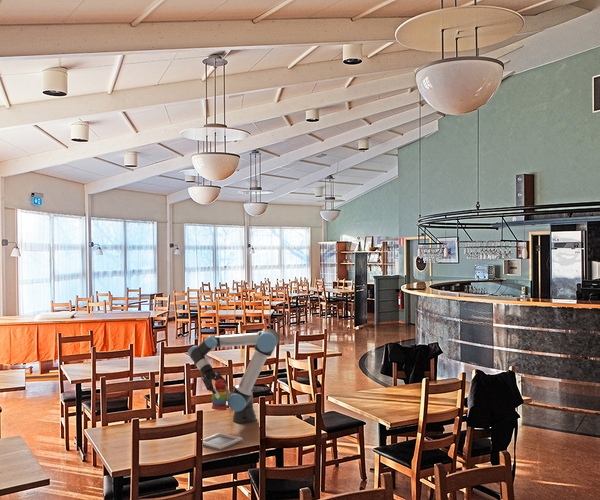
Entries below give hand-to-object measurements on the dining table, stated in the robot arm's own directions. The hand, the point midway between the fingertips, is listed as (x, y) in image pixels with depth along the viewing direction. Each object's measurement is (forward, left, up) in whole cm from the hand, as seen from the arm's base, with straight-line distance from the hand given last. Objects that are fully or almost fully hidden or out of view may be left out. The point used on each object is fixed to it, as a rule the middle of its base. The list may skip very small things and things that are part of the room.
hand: (224, 395), depth 359 cm
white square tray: (+17, +12, -22) cm, 30 cm away
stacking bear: (+1, -4, -8) cm, 9 cm away
